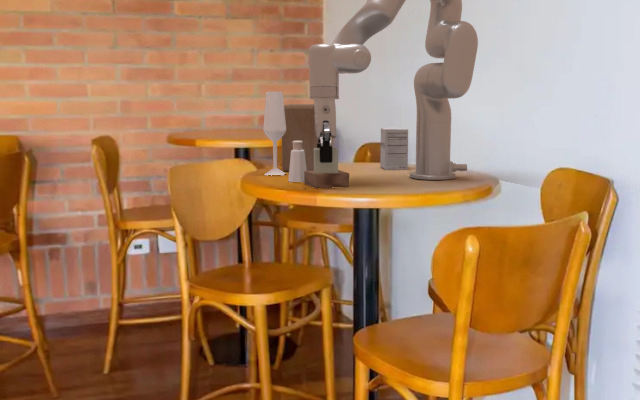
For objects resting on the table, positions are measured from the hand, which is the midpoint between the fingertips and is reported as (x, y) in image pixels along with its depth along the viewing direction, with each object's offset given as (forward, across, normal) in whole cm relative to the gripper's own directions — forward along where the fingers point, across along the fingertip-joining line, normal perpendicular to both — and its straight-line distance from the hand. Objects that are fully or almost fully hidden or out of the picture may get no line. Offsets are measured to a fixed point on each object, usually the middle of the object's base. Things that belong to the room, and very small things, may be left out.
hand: (324, 160), depth 184 cm
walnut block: (+7, 0, 0) cm, 7 cm away
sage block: (+3, 0, 0) cm, 3 cm away
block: (+7, +35, +5) cm, 36 cm away
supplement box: (+7, +36, -24) cm, 44 cm away
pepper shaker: (+7, +9, +7) cm, 13 cm away
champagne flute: (+7, +25, +13) cm, 29 cm away
